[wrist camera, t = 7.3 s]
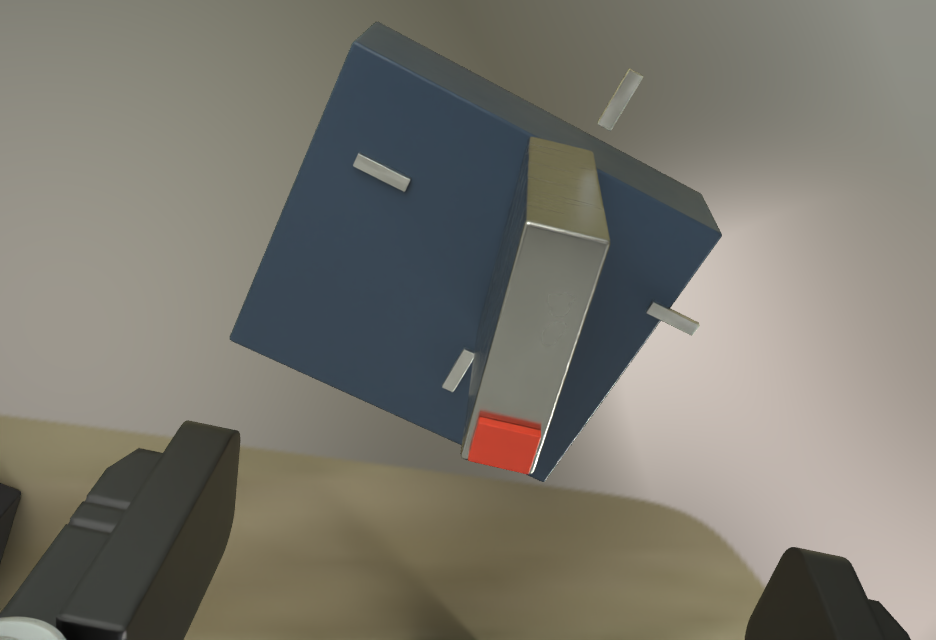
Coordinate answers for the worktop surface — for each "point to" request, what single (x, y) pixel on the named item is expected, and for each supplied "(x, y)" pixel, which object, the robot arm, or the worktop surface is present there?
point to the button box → (7, 512)
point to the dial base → (451, 242)
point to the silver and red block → (535, 305)
